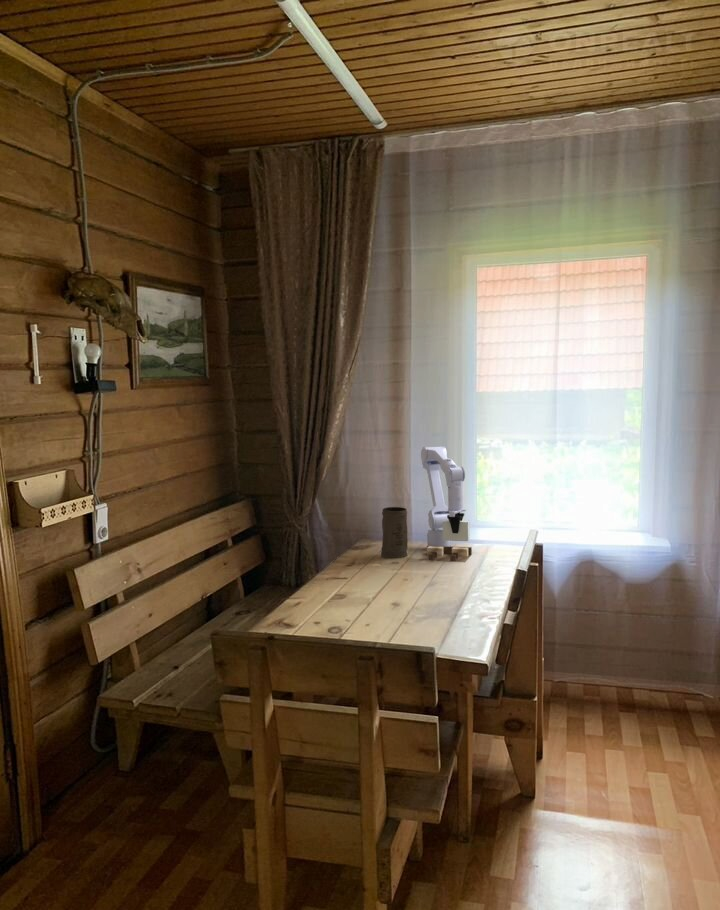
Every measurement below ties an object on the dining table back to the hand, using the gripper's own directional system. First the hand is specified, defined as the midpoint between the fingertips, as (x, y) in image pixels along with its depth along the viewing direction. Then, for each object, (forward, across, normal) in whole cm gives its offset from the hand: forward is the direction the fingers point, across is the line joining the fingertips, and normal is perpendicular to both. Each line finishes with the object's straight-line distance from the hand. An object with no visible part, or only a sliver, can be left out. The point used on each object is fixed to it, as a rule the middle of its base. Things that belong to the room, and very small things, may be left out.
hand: (456, 532), depth 272 cm
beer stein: (+11, -2, +26) cm, 28 cm away
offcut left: (+10, +2, +9) cm, 13 cm away
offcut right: (+10, +2, -1) cm, 10 cm away
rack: (+10, -2, +4) cm, 11 cm away
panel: (+3, 0, 0) cm, 3 cm away
